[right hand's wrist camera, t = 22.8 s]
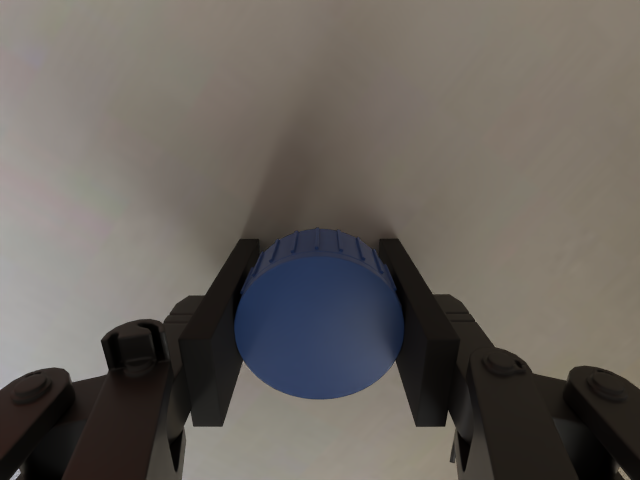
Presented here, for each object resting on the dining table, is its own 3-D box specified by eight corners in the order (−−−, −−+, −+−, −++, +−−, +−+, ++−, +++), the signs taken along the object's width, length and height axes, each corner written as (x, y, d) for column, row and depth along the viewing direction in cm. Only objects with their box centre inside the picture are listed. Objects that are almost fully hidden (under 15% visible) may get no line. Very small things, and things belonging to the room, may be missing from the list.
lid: (216, 275, 12) (194, 311, 10) (343, 196, 11) (349, 218, 9) (300, 374, 13) (295, 424, 11) (417, 313, 12) (437, 356, 10)
